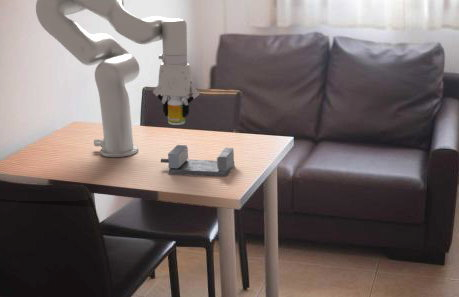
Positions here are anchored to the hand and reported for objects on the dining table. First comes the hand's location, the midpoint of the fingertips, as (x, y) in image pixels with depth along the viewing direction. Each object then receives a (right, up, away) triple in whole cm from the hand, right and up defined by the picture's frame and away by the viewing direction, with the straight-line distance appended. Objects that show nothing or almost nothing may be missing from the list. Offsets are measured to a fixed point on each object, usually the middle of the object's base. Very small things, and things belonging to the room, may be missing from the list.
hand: (176, 115), depth 218 cm
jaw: (-1, -15, -7) cm, 17 cm away
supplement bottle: (0, -3, +1) cm, 3 cm away
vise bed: (+9, -17, -9) cm, 21 cm away
